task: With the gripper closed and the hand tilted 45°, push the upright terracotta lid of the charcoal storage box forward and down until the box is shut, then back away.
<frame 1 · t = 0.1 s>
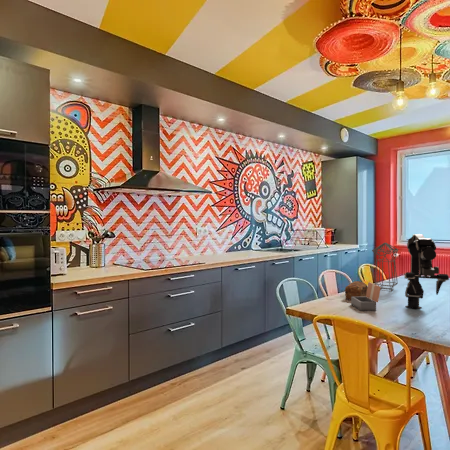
hand: (426, 293, 173), 15 cm above the table, tool pointing down, fingers open, 9 cm apart
storage box: (363, 307, 205), on the table
lid: (373, 291, 205), point 9 cm above the table, hinge at 100.0°
geometric lantern: (384, 290, 256), on the table
bread: (356, 298, 231), on the table
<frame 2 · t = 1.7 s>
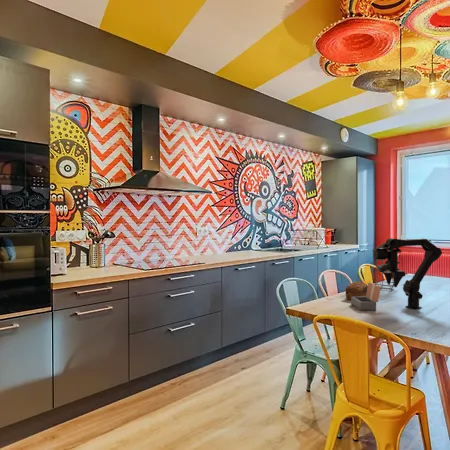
hand: (392, 285, 205), 13 cm above the table, tool pointing down, fingers open, 8 cm apart
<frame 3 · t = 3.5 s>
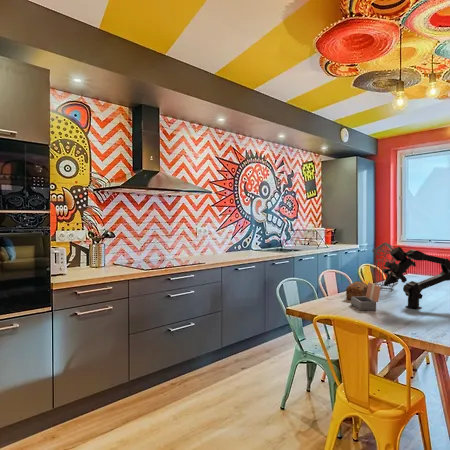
hand: (384, 285, 205), 13 cm above the table, tool tilted 45°, fingers closed
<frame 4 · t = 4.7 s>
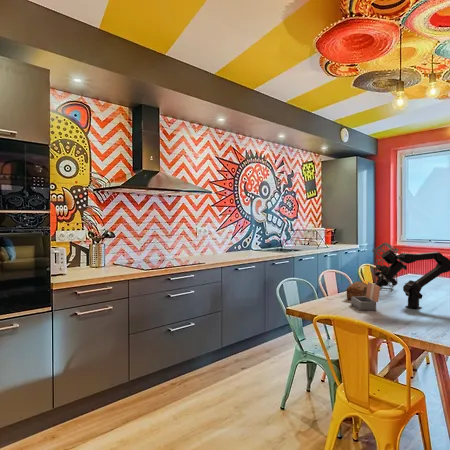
hand: (374, 288, 205), 12 cm above the table, tool tilted 45°, fingers closed, pressing on lid
lid: (372, 291, 205), point 9 cm above the table, hinge at 97.8°, touching gripper
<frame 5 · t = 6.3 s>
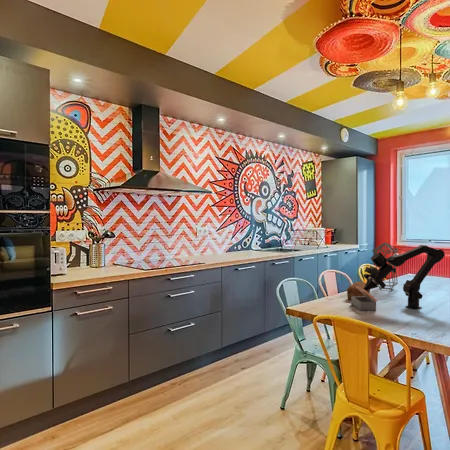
hand: (363, 290, 205), 10 cm above the table, tool tilted 45°, fingers closed, pressing on lid
lid: (365, 293, 205), point 8 cm above the table, hinge at 41.2°, touching gripper
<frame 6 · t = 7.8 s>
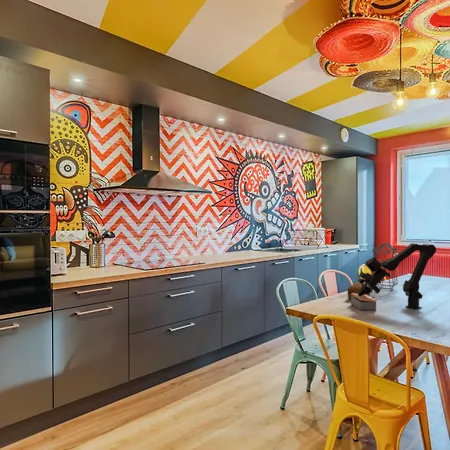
hand: (358, 295, 205), 7 cm above the table, tool tilted 45°, fingers closed, pressing on lid
lid: (363, 297, 205), point 6 cm above the table, hinge at 6.7°, touching gripper
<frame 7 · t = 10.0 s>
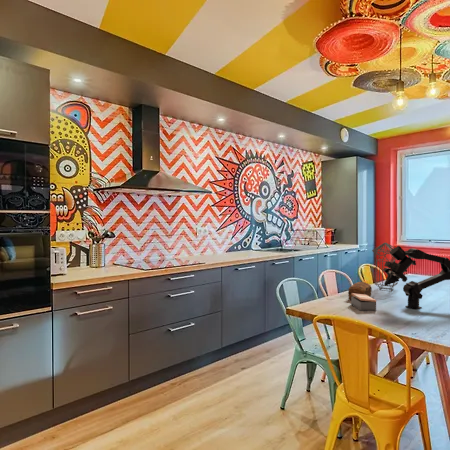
hand: (384, 284, 205), 14 cm above the table, tool tilted 45°, fingers closed
lid: (363, 297, 205), point 6 cm above the table, hinge at 6.5°
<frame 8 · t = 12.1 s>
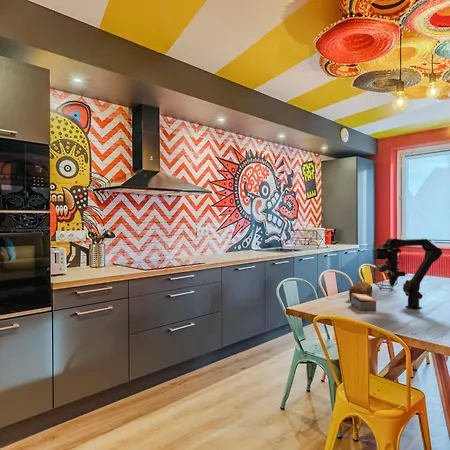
hand: (392, 285, 205), 13 cm above the table, tool pointing down, fingers closed
at the end: lid at +6° (first picture: +100°) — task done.
